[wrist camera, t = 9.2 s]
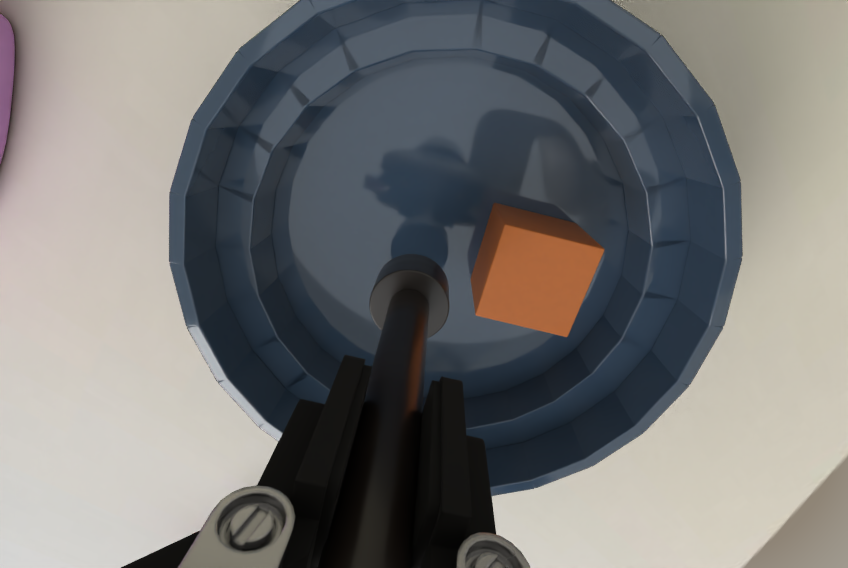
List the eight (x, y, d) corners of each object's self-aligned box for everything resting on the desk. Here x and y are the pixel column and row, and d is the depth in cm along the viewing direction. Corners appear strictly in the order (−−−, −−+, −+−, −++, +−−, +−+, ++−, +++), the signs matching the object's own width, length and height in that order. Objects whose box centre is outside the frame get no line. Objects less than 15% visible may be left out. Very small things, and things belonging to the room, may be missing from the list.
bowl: (755, 76, 18) (878, 63, 13) (571, 453, 26) (601, 538, 21) (253, -62, 17) (170, -135, 12) (223, 375, 25) (166, 443, 20)
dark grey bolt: (457, 263, 18) (490, 635, 5) (438, 327, 20) (430, 756, 7) (384, 245, 18) (240, 586, 5) (370, 311, 19) (225, 718, 6)
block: (576, 222, 20) (605, 249, 16) (546, 298, 22) (567, 338, 18) (493, 202, 20) (504, 223, 16) (469, 279, 21) (474, 316, 18)
